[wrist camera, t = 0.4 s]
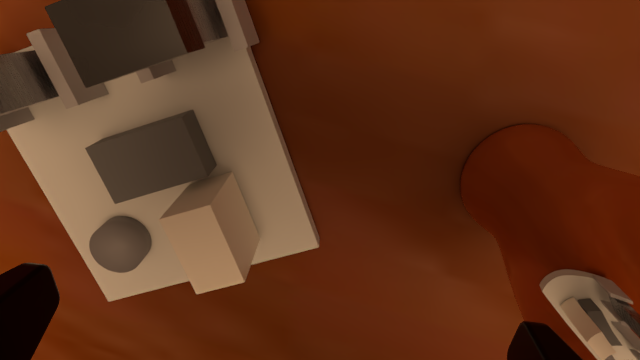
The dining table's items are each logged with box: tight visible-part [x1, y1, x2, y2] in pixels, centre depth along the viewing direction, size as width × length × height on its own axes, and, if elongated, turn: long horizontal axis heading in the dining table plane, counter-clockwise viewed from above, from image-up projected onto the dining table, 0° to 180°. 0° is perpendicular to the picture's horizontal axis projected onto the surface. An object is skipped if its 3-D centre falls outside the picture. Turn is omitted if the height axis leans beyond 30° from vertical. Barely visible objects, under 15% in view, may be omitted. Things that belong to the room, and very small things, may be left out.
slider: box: [159, 172, 260, 294], centre depth 21 cm, size 4×2×4 cm, turn 18°
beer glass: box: [460, 124, 640, 360], centre depth 15 cm, size 7×7×15 cm
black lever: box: [45, 0, 228, 88], centre depth 15 cm, size 2×3×7 cm
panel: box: [0, 0, 320, 301], centre depth 21 cm, size 14×14×4 cm
